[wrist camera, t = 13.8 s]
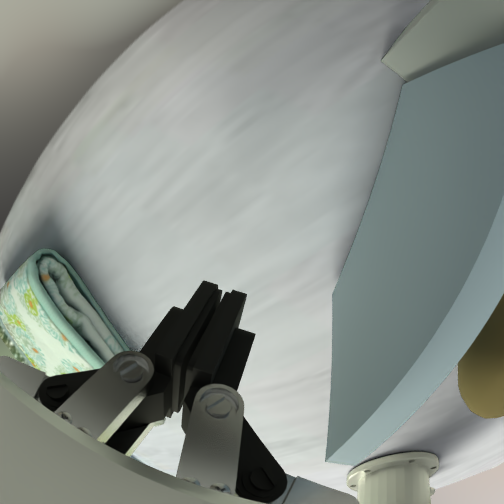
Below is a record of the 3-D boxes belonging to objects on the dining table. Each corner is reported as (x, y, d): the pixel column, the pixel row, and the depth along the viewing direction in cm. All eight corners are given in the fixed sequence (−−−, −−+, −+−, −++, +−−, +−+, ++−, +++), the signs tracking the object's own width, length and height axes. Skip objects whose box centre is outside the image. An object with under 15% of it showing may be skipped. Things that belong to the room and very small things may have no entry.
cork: (498, 243, 15) (591, 346, 5) (455, 314, 17) (507, 439, 8) (435, 204, 15) (541, 308, 5) (391, 287, 18) (429, 433, 8)
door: (402, 84, 12) (531, 34, 2) (447, 105, 12) (600, 107, 2) (332, 294, 18) (325, 461, 8) (372, 306, 18) (392, 468, 8)
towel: (95, 403, 35) (78, 427, 31) (8, 285, 30) (-17, 303, 25) (182, 403, 29) (164, 439, 24) (62, 232, 23) (22, 256, 18)
